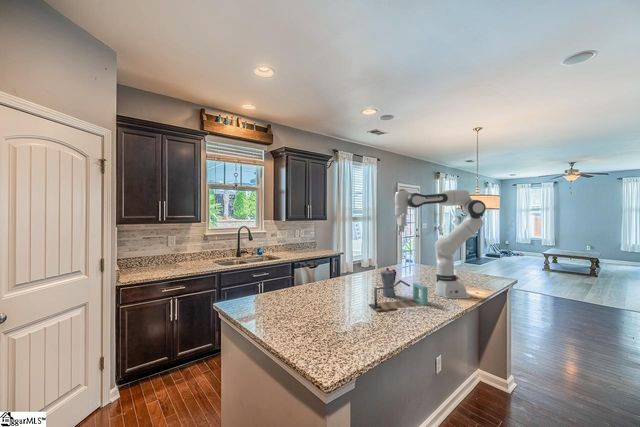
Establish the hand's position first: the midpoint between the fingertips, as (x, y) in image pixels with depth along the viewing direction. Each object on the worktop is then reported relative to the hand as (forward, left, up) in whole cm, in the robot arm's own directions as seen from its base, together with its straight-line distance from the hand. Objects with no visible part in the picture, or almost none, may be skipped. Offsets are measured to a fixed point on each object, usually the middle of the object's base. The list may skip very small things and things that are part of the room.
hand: (401, 231), depth 201 cm
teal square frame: (-11, +23, -43) cm, 50 cm away
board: (+2, +30, -44) cm, 53 cm away
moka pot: (+9, +12, -44) cm, 47 cm away
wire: (+7, +33, -43) cm, 55 cm away
